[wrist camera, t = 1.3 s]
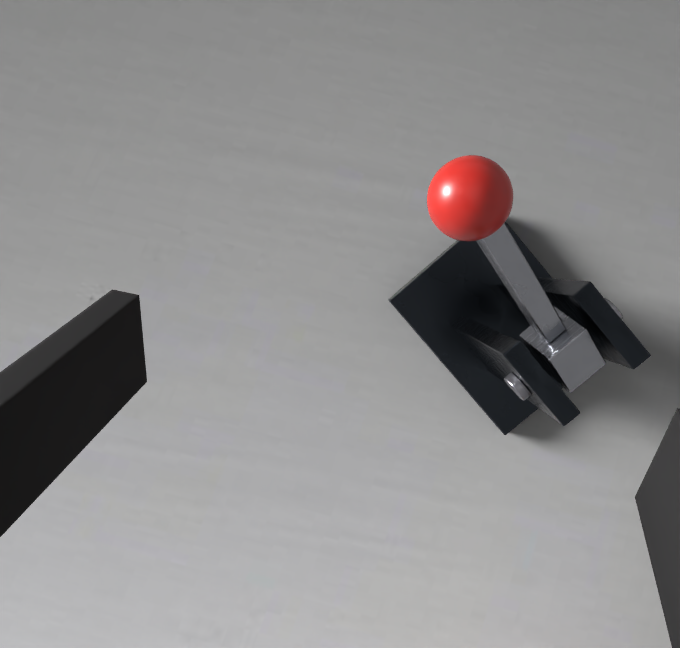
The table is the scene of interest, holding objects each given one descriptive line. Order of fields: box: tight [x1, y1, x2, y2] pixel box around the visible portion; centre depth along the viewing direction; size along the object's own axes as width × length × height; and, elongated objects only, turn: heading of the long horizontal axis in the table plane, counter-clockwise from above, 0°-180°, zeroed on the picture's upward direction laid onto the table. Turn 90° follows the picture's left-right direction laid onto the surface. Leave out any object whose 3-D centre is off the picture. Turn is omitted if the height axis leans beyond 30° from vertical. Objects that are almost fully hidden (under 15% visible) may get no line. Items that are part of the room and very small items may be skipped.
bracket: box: [389, 222, 651, 435], centre depth 33 cm, size 12×9×14 cm
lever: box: [427, 155, 606, 393], centre depth 25 cm, size 13×3×3 cm, turn 41°
